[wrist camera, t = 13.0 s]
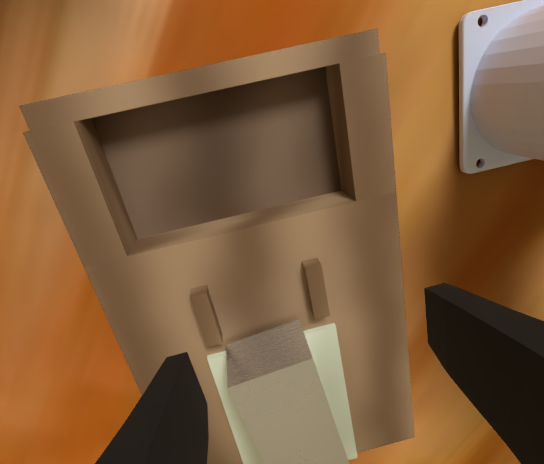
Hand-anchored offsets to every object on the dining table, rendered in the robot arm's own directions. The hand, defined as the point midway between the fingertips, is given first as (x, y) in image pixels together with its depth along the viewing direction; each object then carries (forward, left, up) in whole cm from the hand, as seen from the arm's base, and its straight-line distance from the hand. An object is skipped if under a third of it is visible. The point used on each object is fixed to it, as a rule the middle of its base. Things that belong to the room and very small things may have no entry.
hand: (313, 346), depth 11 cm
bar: (+1, +10, -7) cm, 12 cm away
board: (+1, +4, -10) cm, 11 cm away
